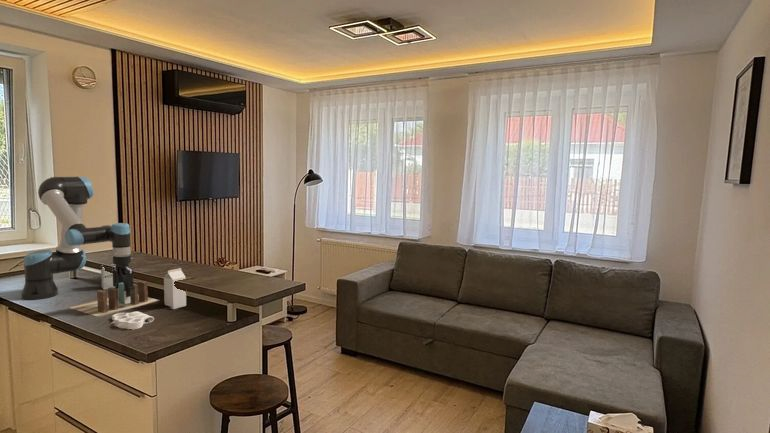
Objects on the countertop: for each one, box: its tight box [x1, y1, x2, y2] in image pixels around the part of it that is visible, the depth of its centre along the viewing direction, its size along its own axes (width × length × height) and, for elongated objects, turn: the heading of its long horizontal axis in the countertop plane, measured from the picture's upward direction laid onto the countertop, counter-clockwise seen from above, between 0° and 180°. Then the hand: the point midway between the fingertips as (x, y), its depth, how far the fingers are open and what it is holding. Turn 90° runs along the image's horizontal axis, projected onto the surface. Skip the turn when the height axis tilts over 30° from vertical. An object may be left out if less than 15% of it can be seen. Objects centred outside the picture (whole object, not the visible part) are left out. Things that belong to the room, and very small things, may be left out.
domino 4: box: [130, 282, 139, 305], centre depth 219 cm, size 2×5×10 cm, turn 62°
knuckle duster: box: [109, 310, 155, 330], centre depth 196 cm, size 3×18×15 cm
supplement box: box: [100, 267, 116, 291], centre depth 250 cm, size 7×7×13 cm
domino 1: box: [96, 289, 108, 313], centre depth 206 cm, size 2×5×10 cm, turn 62°
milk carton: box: [163, 267, 187, 310], centre depth 219 cm, size 7×7×19 cm
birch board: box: [67, 294, 160, 318], centre depth 218 cm, size 26×30×1 cm
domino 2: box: [107, 287, 118, 310], centre depth 210 cm, size 2×5×10 cm, turn 62°
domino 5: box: [137, 280, 149, 302], centre depth 223 cm, size 2×5×10 cm, turn 62°
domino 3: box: [118, 282, 129, 305], centre depth 214 cm, size 2×5×10 cm, turn 62°
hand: (123, 302), depth 215 cm, fingers closed on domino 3, 5 cm apart
